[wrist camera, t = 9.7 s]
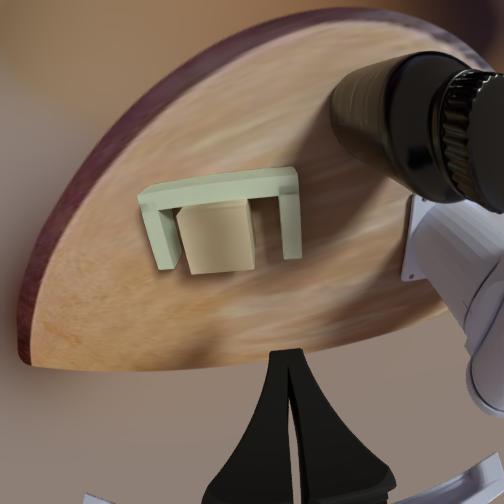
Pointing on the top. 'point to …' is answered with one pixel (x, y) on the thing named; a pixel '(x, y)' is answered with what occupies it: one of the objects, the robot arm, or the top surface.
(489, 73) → the supplement bottle
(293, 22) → the top surface
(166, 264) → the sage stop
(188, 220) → the birch block
